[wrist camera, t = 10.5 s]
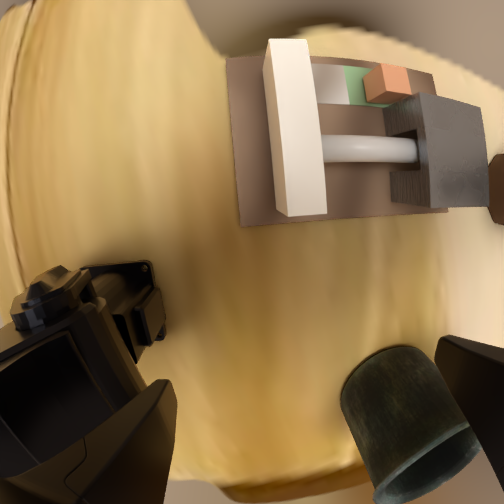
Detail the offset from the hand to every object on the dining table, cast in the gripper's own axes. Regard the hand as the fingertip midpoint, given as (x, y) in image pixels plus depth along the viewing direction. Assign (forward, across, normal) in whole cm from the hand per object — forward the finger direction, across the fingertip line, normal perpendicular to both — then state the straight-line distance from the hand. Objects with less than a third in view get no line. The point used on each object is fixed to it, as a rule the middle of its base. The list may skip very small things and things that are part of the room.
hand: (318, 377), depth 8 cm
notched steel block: (+13, -12, -8) cm, 19 cm away
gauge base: (+13, -6, -9) cm, 17 cm away
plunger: (+11, -5, -9) cm, 15 cm away
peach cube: (+12, -9, -12) cm, 19 cm away
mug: (+13, -12, +15) cm, 23 cm away
